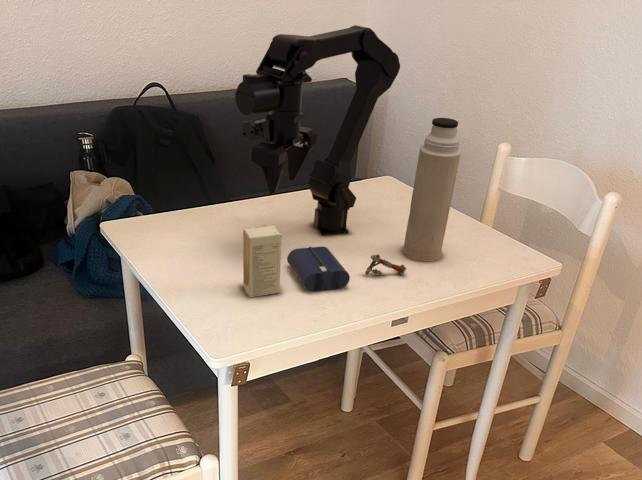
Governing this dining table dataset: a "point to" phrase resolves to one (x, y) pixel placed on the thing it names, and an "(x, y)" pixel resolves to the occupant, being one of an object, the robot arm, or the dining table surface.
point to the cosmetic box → (261, 260)
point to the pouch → (318, 269)
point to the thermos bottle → (432, 191)
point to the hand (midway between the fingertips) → (282, 186)
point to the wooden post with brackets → (386, 263)
